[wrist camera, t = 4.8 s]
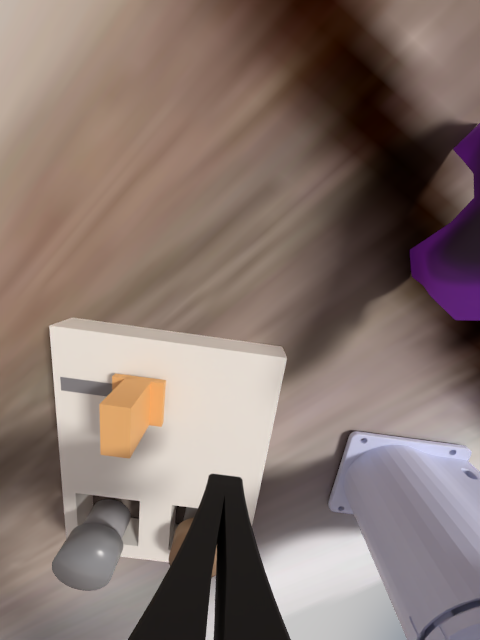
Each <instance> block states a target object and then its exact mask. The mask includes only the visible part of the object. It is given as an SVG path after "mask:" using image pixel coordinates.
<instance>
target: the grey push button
mask: <svg viewBox="0 0 480 640" xmlns="http://www.w3.org/2000/svg"><path fill="white" fill-rule="evenodd" d="M130 519H131V513H130V511H129V509H128V508H127V507H126V506H125V505H124V504H123V503H121V502H119V501H117V500H113V499H104V500H100V501H98V502H97V503H95V505H94V506H93V508H92V509H91V511H90V512H89V514H88V516H87V517H86V519H85V521H84V522H83V524H81V525H78V526H77V527H75V528H74V529H73V530H72V531H71V533H70V535H69V536H68V538H67V539H66V541H65V542H64V544H63V546H62V547H61V549H60V550H59V552H58V553H57V555H56V557H55V558H54V560H53V562H52V570H53V572H54V574H55V576H56V577H57V578H58V579H59V580H60V581H61V582H62V583H64V584H65V585H67V586H69V587H72V588H75V589H78V590H85V591H91V590H97V589H100V588H102V587H104V586H106V585H107V584H108V583H109V581H110V579H111V577H112V575H113V572H114V570H115V567H116V565H117V563H118V560H119V558H120V555H121V553H122V551H123V541H122V537H123V535H124V533H125V530H126V528H127V526H128V524H129V521H130Z"/></svg>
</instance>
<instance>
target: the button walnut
mask: <svg viewBox="0 0 480 640" xmlns="http://www.w3.org/2000/svg"><path fill="white" fill-rule="evenodd" d="M197 510H198V508H191V507H186V510H185V515H184V519H183V522H181V523H180V524H179V525H178V526H177V528H176V531H175V535H174V539H173V542H172V546H171V550H170V554H169V564H170V566H171V564H172V562H173V561H174V559H175V557H176V555H177V553H178V551H179V549H180V547H181V545H182V543H183V541H184V539H185V537H186V535H187V532H188V530H189V528H190V526H191V524H192V521H193V519H194V517H195V514H196V512H197ZM216 561H217V547H216V553H215V558H214V564H213V570H212V576H211V577H213V576H215V575H216Z"/></svg>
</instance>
